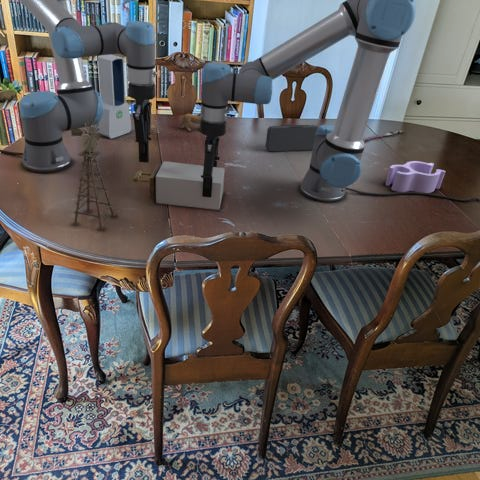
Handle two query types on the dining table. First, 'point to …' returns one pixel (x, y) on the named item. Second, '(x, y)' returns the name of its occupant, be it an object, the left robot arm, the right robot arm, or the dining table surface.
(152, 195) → the drawer
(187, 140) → the dining table surface
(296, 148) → the handheld gaming console
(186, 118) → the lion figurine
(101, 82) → the electronic device
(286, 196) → the dining table surface
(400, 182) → the clip
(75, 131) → the miniature windmill
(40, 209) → the dining table surface
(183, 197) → the cabinet
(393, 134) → the sword
